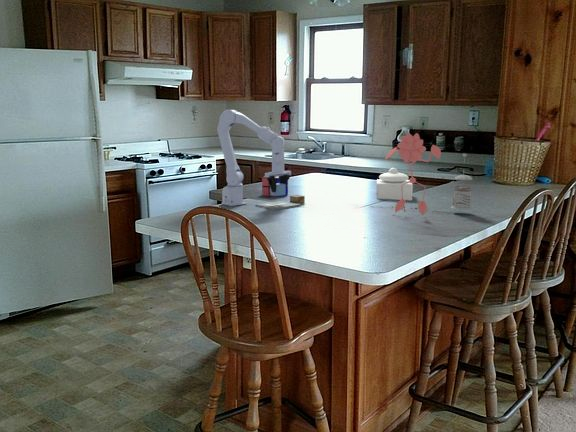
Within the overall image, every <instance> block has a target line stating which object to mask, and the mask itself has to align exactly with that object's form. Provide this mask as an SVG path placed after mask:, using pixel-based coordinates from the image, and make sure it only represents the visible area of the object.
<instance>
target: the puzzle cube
mask: <svg viewBox="0 0 576 432" xmlns="http://www.w3.org/2000/svg"><path fill="white" fill-rule="evenodd" d="M275 178H278V179H277V183H280V179H279V176H275ZM261 185H262V186H261V195H262V196H266V197H273V198H278V197H284V196H288V195H289V181H288V182H287V184H286V195H280V196H276V195H271V191H270V184H269V182H268V180H267V177H265V175H264V176H261Z"/></svg>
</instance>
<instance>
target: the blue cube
mask: <svg viewBox="0 0 576 432" xmlns="http://www.w3.org/2000/svg"><path fill="white" fill-rule="evenodd" d="M270 191H271V195H276V196H279V197H281V196H280V195H285V196H287V195H286V184H281V183H276V192H272V190H271V187H270Z"/></svg>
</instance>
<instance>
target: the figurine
mask: <svg viewBox="0 0 576 432" xmlns="http://www.w3.org/2000/svg"><path fill="white" fill-rule="evenodd" d="M400 140H401V141H400V142H398V144H397V146H395V147H393V148H391V150H389V152H388V153H387V154H386V156H385V158H384V160H388V159H389V158H391V157H392V156H393V155H394V154H395V153H396V152H398V155H399V156H400V157H401V159H402V160H403V162H404V163H409V162H411V163H410V164H409V170H410V171H409V172H410V175H411V177H409V180H410V181H408V182H410V183H412V184H415V183H416V184H418V185H420V186H422V187H423V188H424V190H423V196H422V199H421V200H420V201H419V202H418V205H417V209H418V212H419V213H420V214H421V215H422V216H424V215H425V214H426V212H427V209H428V206H427V204H426V201H424V199H425V194H426V186H425V185H423V184H422V183H420V182H419V183H418V182H417V179H416V177H413V171H412V167H411V166H412V165H414V163H417V162H418V161H420V162H426V163H429V162H430V160H431V157H432V155H433V157H435V158H437V159H438V160H440V159H441V155H442V152H441V148H440V147H438V145H435V144H432V146H431V147H430V153H429V157H428V159H427V160H425V159H422V158H423V154H422V153H425V152H426V150H427V148H426V146H424V139H421V137H420V134H419V133H415V134H414V135H412V134H411V133H409V132H407V133H406V135H402V136H401V137H400ZM408 182H406V183H408ZM406 183H404V184H406ZM404 184H402V185H404ZM405 205H406V200H405V199H403V190H402V199H401V200H399V201H398V200H397V203H396V204H395V207H394V209H391V210H394V213H395V214H396V213H398V212H400V211H401V210H402V209H403V212H404V213H405V212H406V208H405ZM392 216H393V217H395V215H394V214H392ZM397 217H398V218H401V216H399V215H397ZM406 218H409V219H413V217H410V216H405V219H406ZM424 218H425V219H426V218H427V217H424Z"/></svg>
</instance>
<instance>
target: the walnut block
mask: <svg viewBox="0 0 576 432" xmlns="http://www.w3.org/2000/svg"><path fill="white" fill-rule="evenodd" d="M289 202H291V203H297V204H301V205H305V195H300V194H294V195H289Z"/></svg>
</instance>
